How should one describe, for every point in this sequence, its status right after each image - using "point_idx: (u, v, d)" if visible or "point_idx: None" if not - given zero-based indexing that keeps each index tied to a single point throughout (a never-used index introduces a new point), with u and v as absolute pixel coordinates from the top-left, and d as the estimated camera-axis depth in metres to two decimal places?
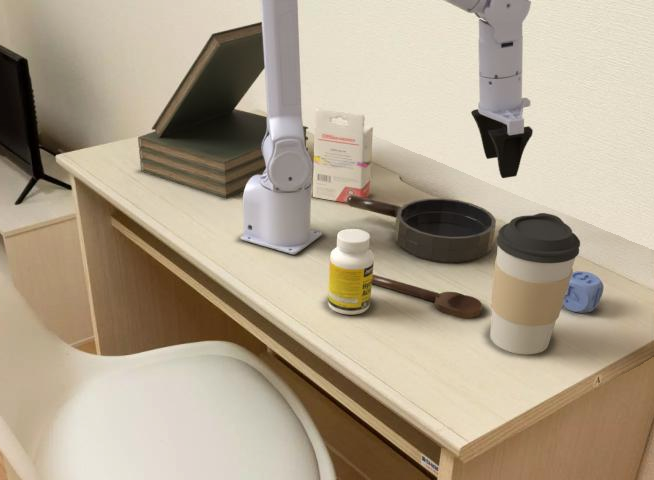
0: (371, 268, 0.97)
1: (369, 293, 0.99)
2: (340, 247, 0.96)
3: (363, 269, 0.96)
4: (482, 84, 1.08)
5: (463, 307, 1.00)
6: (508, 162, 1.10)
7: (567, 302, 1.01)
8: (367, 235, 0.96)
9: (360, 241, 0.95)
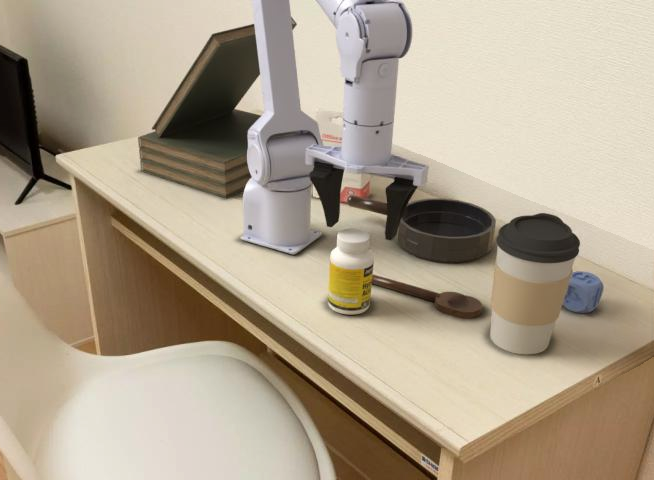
0: (371, 268, 0.97)
1: (369, 293, 0.99)
2: (340, 247, 0.96)
3: (363, 269, 0.96)
4: None
5: (463, 307, 1.00)
6: None
7: (567, 302, 1.01)
8: (367, 235, 0.96)
9: (360, 241, 0.95)
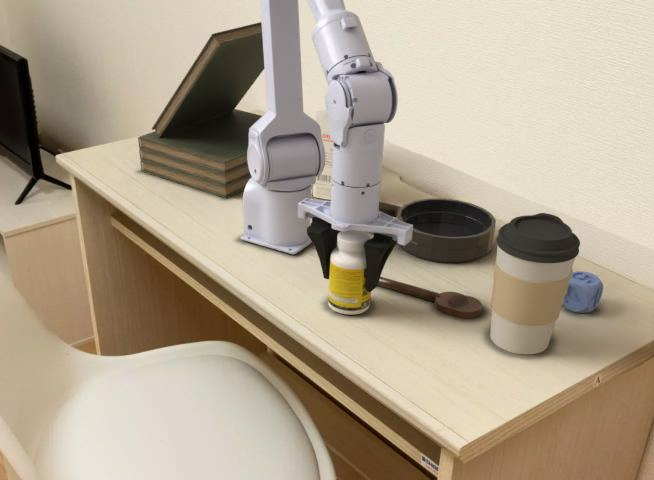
0: None
1: (369, 293, 0.99)
2: (340, 247, 0.96)
3: (363, 270, 0.96)
4: None
5: (463, 307, 1.00)
6: None
7: (567, 302, 1.01)
8: (367, 235, 0.96)
9: (360, 241, 0.95)
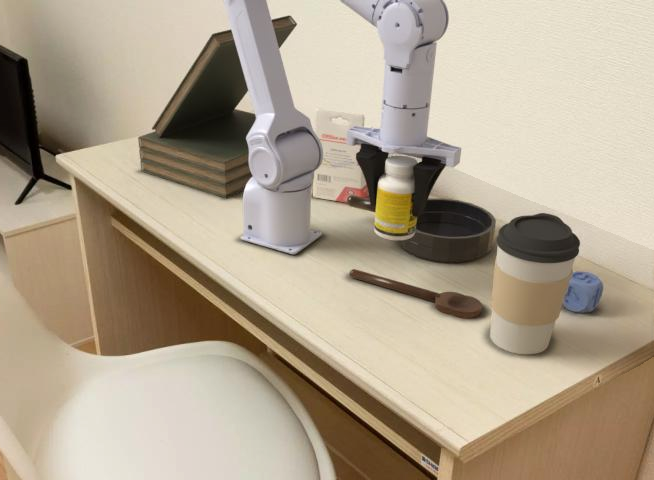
0: None
1: (415, 219, 1.01)
2: (388, 172, 0.98)
3: (411, 194, 0.98)
4: None
5: (463, 307, 1.00)
6: None
7: (567, 302, 1.01)
8: (415, 161, 0.99)
9: (408, 165, 0.97)
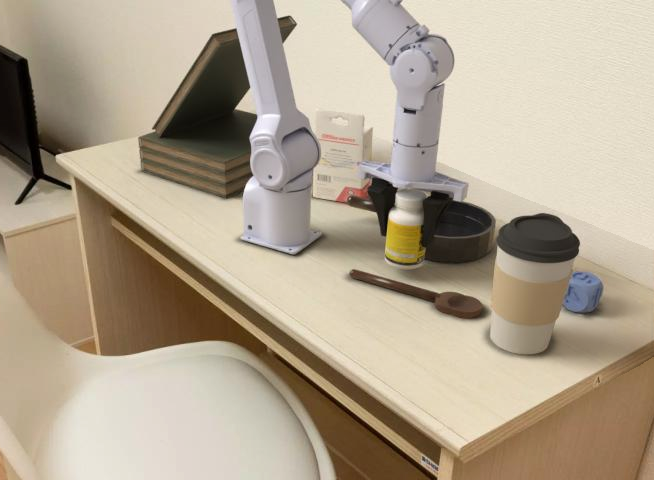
0: None
1: (424, 249, 1.06)
2: (399, 205, 1.03)
3: (420, 226, 1.03)
4: None
5: (463, 307, 1.00)
6: None
7: (567, 302, 1.01)
8: (424, 194, 1.03)
9: (417, 199, 1.02)
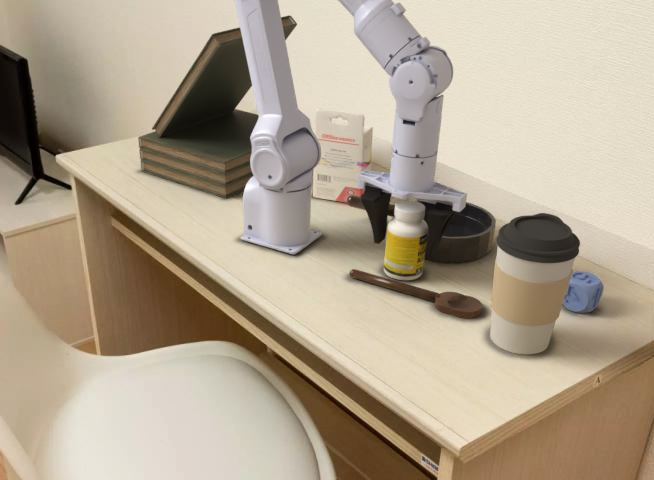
0: (426, 237, 1.05)
1: (423, 260, 1.07)
2: (398, 217, 1.04)
3: (419, 238, 1.04)
4: None
5: (463, 307, 1.00)
6: None
7: (567, 302, 1.01)
8: (422, 206, 1.04)
9: (416, 211, 1.03)
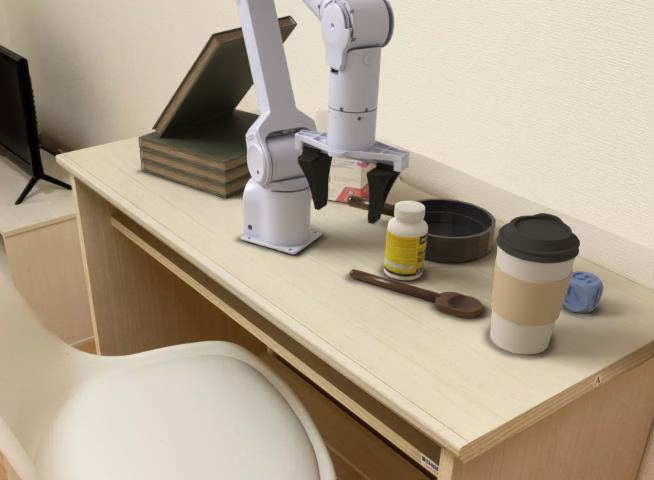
0: (426, 237, 1.05)
1: (423, 260, 1.07)
2: (398, 217, 1.04)
3: (419, 238, 1.04)
4: None
5: (463, 307, 1.00)
6: None
7: (567, 302, 1.01)
8: (422, 206, 1.04)
9: (416, 211, 1.03)
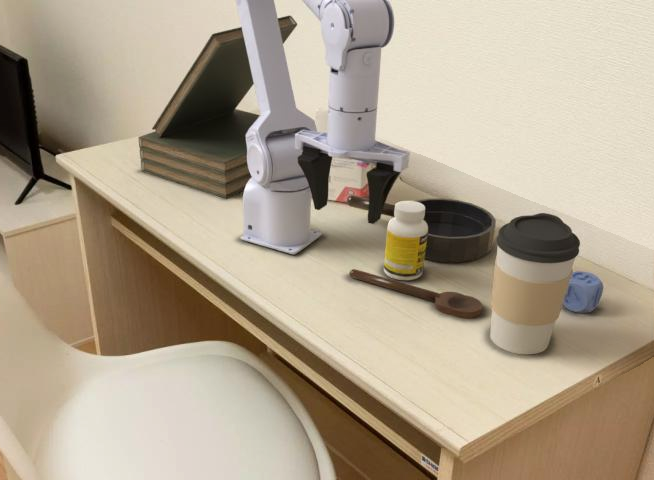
0: (426, 237, 1.05)
1: (423, 260, 1.07)
2: (398, 217, 1.04)
3: (419, 238, 1.04)
4: None
5: (463, 307, 1.00)
6: None
7: (567, 302, 1.01)
8: (422, 206, 1.04)
9: (416, 211, 1.03)
